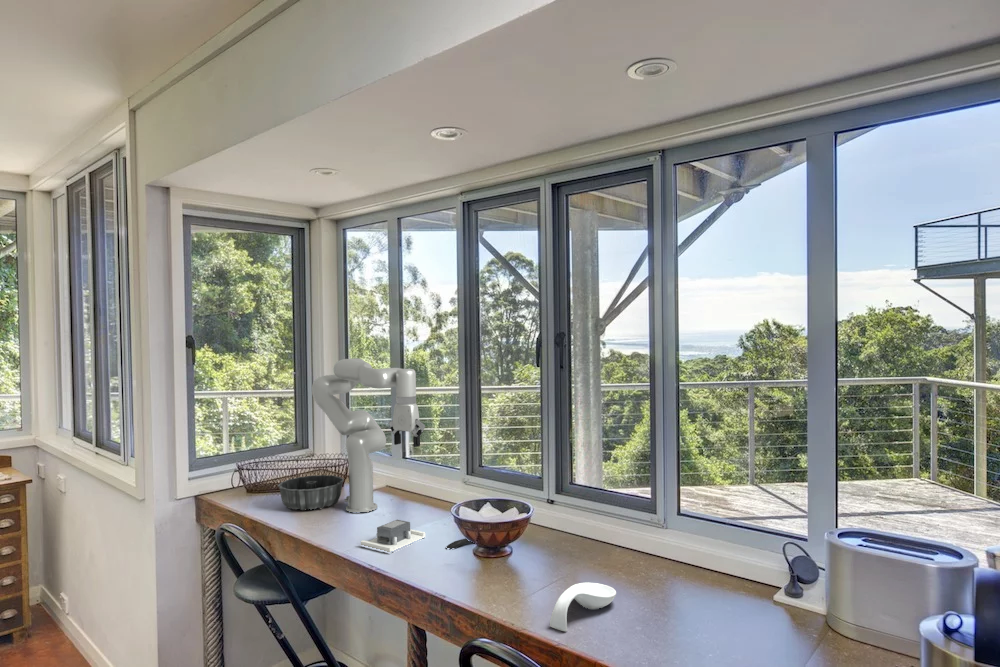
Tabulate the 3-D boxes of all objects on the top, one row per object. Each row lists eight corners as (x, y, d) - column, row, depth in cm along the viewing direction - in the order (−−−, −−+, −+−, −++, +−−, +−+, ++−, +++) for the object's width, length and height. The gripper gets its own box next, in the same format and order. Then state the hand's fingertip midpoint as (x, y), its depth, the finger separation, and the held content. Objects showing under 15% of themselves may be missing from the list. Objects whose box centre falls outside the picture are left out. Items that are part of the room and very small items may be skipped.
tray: (361, 547, 207) (360, 536, 207) (397, 531, 222) (397, 522, 222) (389, 554, 200) (389, 543, 200) (425, 538, 215) (425, 528, 215)
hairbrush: (440, 538, 208) (505, 522, 220) (441, 549, 208) (505, 532, 220) (450, 545, 201) (516, 528, 213) (451, 557, 201) (517, 539, 213)
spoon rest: (584, 591, 171) (584, 565, 171) (623, 601, 164) (623, 574, 164) (538, 625, 152) (537, 595, 152) (580, 638, 145) (579, 608, 145)
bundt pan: (279, 500, 267) (279, 477, 267) (342, 494, 275) (342, 472, 275) (276, 517, 242) (276, 492, 242) (346, 510, 250) (345, 486, 250)
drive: (376, 542, 209) (375, 527, 208) (397, 533, 217) (397, 518, 217) (389, 545, 205) (389, 530, 205) (410, 536, 214) (410, 521, 214)
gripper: (382, 400, 239) (383, 445, 239) (417, 403, 230) (418, 449, 230) (396, 398, 245) (396, 441, 246) (430, 401, 236) (430, 445, 236)
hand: (407, 445), depth 238 cm, fingers open, 9 cm apart
